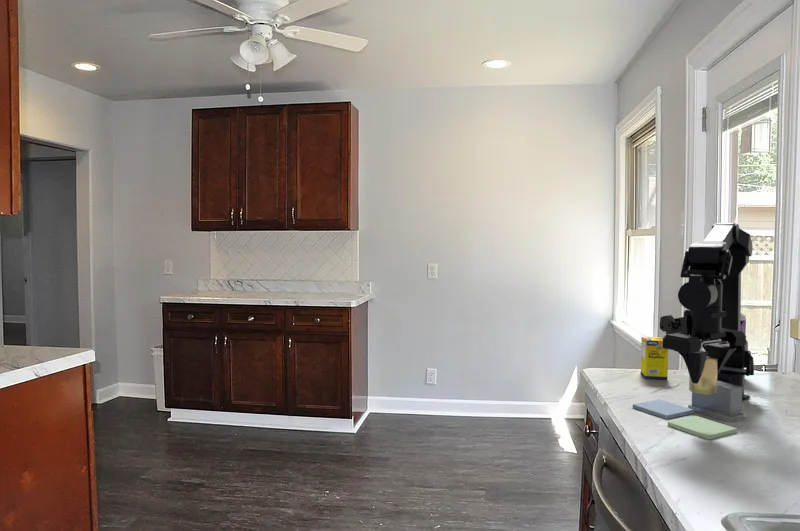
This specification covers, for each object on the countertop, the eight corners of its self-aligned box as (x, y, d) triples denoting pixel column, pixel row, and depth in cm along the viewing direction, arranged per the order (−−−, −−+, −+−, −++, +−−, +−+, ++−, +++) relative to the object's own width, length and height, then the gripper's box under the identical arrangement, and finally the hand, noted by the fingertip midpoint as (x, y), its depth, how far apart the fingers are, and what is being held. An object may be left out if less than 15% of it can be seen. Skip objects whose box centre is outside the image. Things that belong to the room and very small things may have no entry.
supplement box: (668, 380, 155) (669, 340, 154) (644, 378, 156) (645, 340, 155) (662, 374, 161) (663, 337, 160) (640, 373, 162) (641, 336, 161)
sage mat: (695, 419, 121) (696, 415, 121) (737, 432, 113) (737, 428, 113) (667, 425, 117) (668, 421, 117) (708, 439, 109) (708, 435, 109)
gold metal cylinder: (699, 386, 118) (700, 353, 118) (722, 392, 114) (723, 358, 114) (683, 389, 116) (684, 356, 116) (706, 395, 112) (707, 361, 111)
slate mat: (659, 402, 134) (659, 399, 134) (693, 413, 126) (693, 409, 126) (632, 407, 130) (632, 404, 130) (666, 419, 122) (666, 415, 122)
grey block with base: (702, 406, 131) (703, 376, 130) (745, 418, 122) (746, 386, 122) (688, 409, 129) (688, 379, 128) (730, 422, 120) (731, 389, 119)
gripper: (698, 299, 125) (696, 368, 126) (640, 304, 117) (638, 377, 118) (748, 304, 116) (746, 379, 116) (689, 310, 107) (687, 391, 108)
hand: (703, 381), depth 115 cm, fingers closed on gold metal cylinder, 5 cm apart
